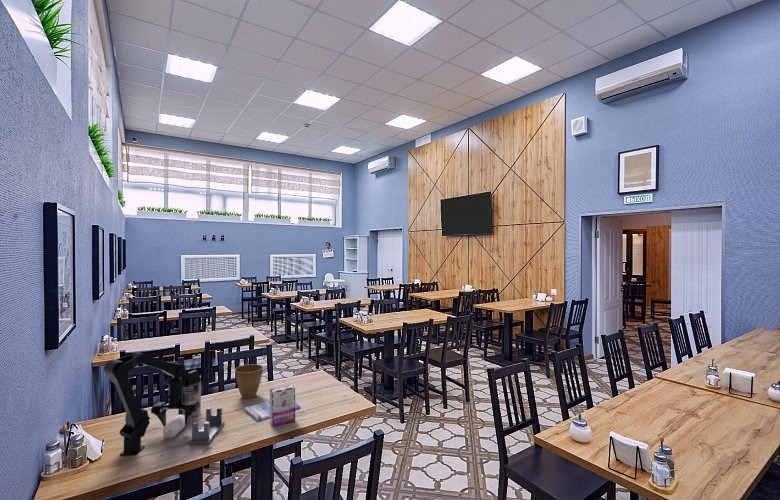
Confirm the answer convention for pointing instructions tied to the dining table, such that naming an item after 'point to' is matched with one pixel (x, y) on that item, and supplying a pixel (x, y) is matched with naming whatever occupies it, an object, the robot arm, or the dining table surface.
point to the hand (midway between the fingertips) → (175, 425)
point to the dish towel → (261, 410)
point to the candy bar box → (282, 405)
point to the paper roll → (174, 426)
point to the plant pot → (248, 379)
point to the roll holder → (207, 428)
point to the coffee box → (192, 398)
